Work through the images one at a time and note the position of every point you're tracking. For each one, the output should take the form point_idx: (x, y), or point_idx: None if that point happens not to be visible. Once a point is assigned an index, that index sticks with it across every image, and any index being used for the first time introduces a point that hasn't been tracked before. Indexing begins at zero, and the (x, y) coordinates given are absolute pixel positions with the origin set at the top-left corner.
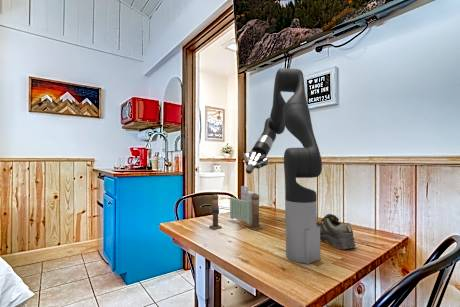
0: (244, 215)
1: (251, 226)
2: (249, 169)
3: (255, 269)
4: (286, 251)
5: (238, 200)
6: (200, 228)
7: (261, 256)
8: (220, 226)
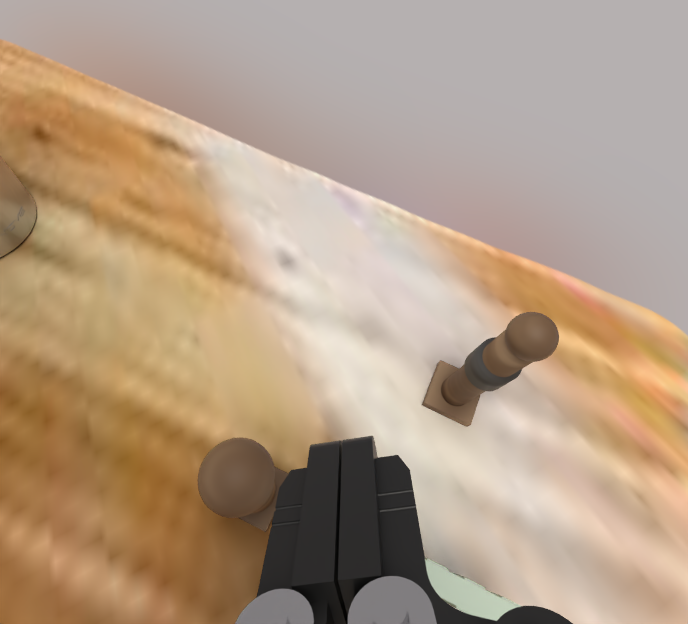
0: None
1: (279, 483)
2: (319, 463)
3: (118, 110)
4: (23, 187)
5: (450, 572)
6: None
7: (122, 182)
8: (430, 399)
